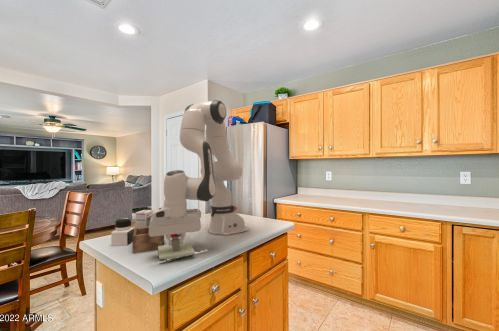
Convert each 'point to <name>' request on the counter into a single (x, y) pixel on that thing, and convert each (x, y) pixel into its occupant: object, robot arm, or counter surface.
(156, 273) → the counter surface
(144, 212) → the syrup box
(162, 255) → the lid
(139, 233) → the crate
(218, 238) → the counter surface
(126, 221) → the medicine bottle
